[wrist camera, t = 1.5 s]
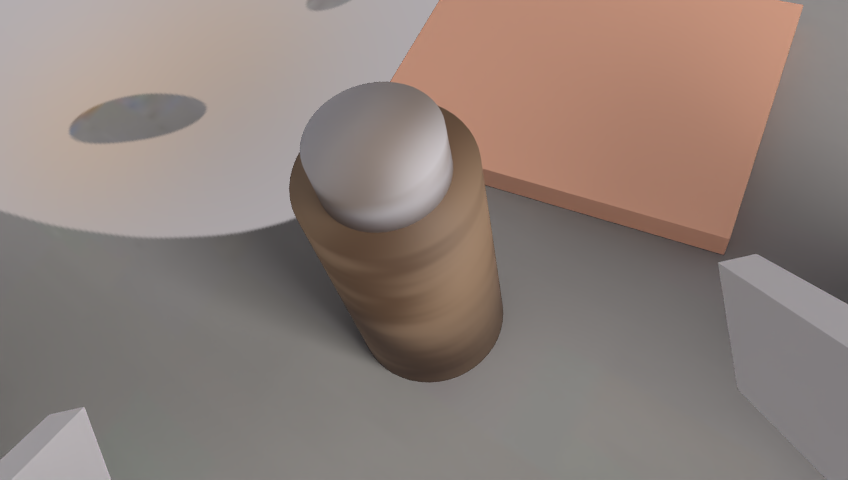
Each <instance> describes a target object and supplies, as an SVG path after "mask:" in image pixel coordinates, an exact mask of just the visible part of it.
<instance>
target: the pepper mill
mask: <svg viewBox="0 0 848 480" xmlns="http://www.w3.org/2000/svg"><path fill="white" fill-rule="evenodd" d="M289 191H290V201H291V205H292V209H293V211H294V214H295V216H296V218H297V220H298V222H299V224H300V226H301V227H302V229H303V231H304V233H305V235H306V236H307V238H308V240H309V242H310V243H311V245H312V247H313V249H314V251H315V252H316V254H317V256H318V258H319V260H320V261H321V263H322V265H323V267H324V269H325V270H326V272H327V274H328V276H329V278H330V279H331V281H332V283H333V285H334V286H335V288H336V290H337V292H338V294H339V295H340V297H341V299H342V301H343V303H344V304H345V306H346V308H347V310H348V312H349V313H350V315H351V317H352V319H353V321H354V322H355V324H356V326H357V328H358V329H359V331H360V333H361V335H362V337H363V338H364V340H365V342H366V344H367V346H368V347H369V349H370V351H371V352H372V354H373V356H374V357H375V358H376V359H377V360H378V362H379V363H380V364H381V365H383V366H384V367H385V368H386V369H388V370H389V371H391V372H392V373H394V374H396V375H398V376H400V377H402V378H405V379H408V380H412V381H418V382H439V381H444V380H449V379H452V378H455V377H458V376H460V375H462V374H464V373H466V372H468V371H469V370H471V369H472V368H474V367H475V366H476V365H478V364H479V363H480V362H481V361H482V360H483V359H484V358H485V357H486V356H487V355H488V354H489V352H490V351H491V349H492V348H493V347H494V345H495V343H496V341H497V339H498V336H499V334H500V331H501V327H502V322H503V305H502V298H501V291H500V284H499V278H498V271H497V264H496V257H495V250H494V244H493V237H492V230H491V223H490V216H489V210H488V203H487V196H486V189H485V182H484V175H483V169H482V162H481V156H480V152H479V148H478V145H477V143H476V140H475V138H474V136H473V135H472V133H471V132H470V130H469V129H468V128H467V126H466V125H465V124H464V123H463V122H462V121H461V120H460V119H459V118H458V117H456V116H455V115H454V114H452V113H451V112H449V111H448V110H446V109H444V108H442V107H440V106H438V105H437V104H436V103H435V102H434V101H433V100H432V99H431V98H430V97H429V96H428V95H427V94H425V93H424V92H422V91H420V90H418V89H416V88H414V87H412V86H409V85H405V84H401V83H396V82H374V83H367V84H362V85H359V86H356V87H353V88H350V89H347V90H345V91H343V92H341V93H339V94H338V95H336V96H334V97H333V98H331V99H330V100H328V101H327V102H326V103H325V104H323V105H322V106H321V107H320V108H319V109H318V110H317V111H316V112H315V113H314V115H313V116H312V117H311V119H310V120H309V122H308V124H307V126H306V127H305V130H304V132H303V135H302V139H301V143H300V153H299V155H298V156H297V158H296V161H295V163H294V166H293V169H292V173H291V177H290V186H289Z"/></svg>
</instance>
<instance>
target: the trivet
mask: <svg viewBox="0 0 848 480" xmlns="http://www.w3.org/2000/svg"><path fill="white" fill-rule="evenodd" d="M802 8H803V5H800V4H795V3H789V2H783V1H778V0H439V2H438V4H437V5H436V7H435V9H434V10H433V12H432V13H431V15H430V17H429V18H428V20H427V22H426V23H425V25H424V27H423V28H422V30H421V32H420V33H419V35H418V37H417V38H416V40H415V41H414V43H413V45H412V46H411V48H410V50H409V51H408V53H407V55H406V56H405V58H404V60H403V61H402V63H401V65H400V66H399V68H398V69H397V71H396V73H395V75H394V76H393V78H392V80H391V81H390V82H396V83H401V84H405V85H409V86H412V87H414V88H416V89H418V90H420V91H422V92H424V93H425V94H427V95H428V96H429V97H430V98H431V99H432V100H433V101H434V102H435V103H436V104H437V105H438V106H440V107H442V108H444V109H446V110H448V111H449V112H451V113H452V114H454V115H455V116H456V117H458V118H459V119H460V120H461V121H462V122H463V123H464V124H465V125H466V126H467V128H468V129H469V130H470V132H471V133H472V135H473V136H474V138H475V140H476V143H477V145H478V148H479V152H480V156H481V162H482V169H483V175H484V182H485V185H487V186H490V187H494V188H497V189H501V190H504V191H507V192H511V193H514V194H518V195H521V196H525V197H528V198H531V199H535V200H538V201H542V202H545V203H548V204H552V205H555V206H559V207H562V208H565V209H569V210H572V211H576V212H579V213H582V214H586V215H589V216H593V217H596V218H599V219H603V220H606V221H610V222H613V223H617V224H620V225H623V226H627V227H630V228H634V229H637V230H640V231H644V232H647V233H651V234H654V235H657V236H661V237H664V238H668V239H671V240H674V241H678V242H681V243H685V244H688V245H692V246H695V247H698V248H702V249H705V250H709V251H712V252H715V253H719V254H722V255H724V253H725V251H726V248H727V245H728V243H729V240H730V237H731V234H732V231H733V228H734V224H735V221H736V218H737V215H738V212H739V208H740V205H741V202H742V199H743V196H744V193H745V189H746V186H747V183H748V180H749V177H750V174H751V170H752V167H753V164H754V161H755V158H756V154H757V151H758V148H759V145H760V142H761V139H762V135H763V132H764V129H765V126H766V123H767V119H768V116H769V113H770V110H771V107H772V104H773V100H774V97H775V94H776V91H777V88H778V85H779V81H780V78H781V75H782V72H783V69H784V65H785V62H786V59H787V56H788V53H789V50H790V46H791V43H792V40H793V37H794V34H795V30H796V27H797V24H798V21H799V18H800V15H801V11H802Z"/></svg>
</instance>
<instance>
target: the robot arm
mask: <svg viewBox="0 0 848 480" xmlns="http://www.w3.org/2000/svg"><path fill="white" fill-rule="evenodd" d="M718 267H719V273H720V279H721V286H722V292H723V299H724V305H725V312H726V318H727V324H728V331H729V337H730V344H731V350H732V356H733V363H734V369H735V376H736V382H737V389H738V390H739V391H740V392H741V393H742V394H743V395H744V396H745V397H746V398H747V399H748V400H749V401H750V402H751V403H752V404H753V405H754V406H755V407H756V408H757V409H758V410H759V411H760V412H761V413H762V414H763V415H764V416H765V417H766V418H767V420H768V421H769V422H770V423H771V424H772V425H773V426H774V427H775V428H776V429H777V430H778V431H779V432H780V433H781V434H782V435H783V436H784V437H785V438H786V439H787V440H788V441H789V442H790V443H791V444H792V445H793V446H794V447H795V448H796V449H797V450H798V451H799V452H800V453H801V454H802V455H803V456H804V457H805V458H806V459H807V460H808V461H809V462H810V463H811V464H812V465H813V466H814V467H815V468H816V469H817V470H818V471H819V472H820V473H821V474H822V475H823V476H824V477H825V478H826V479H827V480H848V304H846V303H845V302H843V301H841V300H839V299H837V298H836V297H834V296H832V295H830V294H828V293H827V292H825V291H823V290H821V289H819V288H818V287H816V286H814V285H812V284H810V283H809V282H807V281H805V280H803V279H801V278H799V277H798V276H796V275H794V274H792V273H790V272H789V271H787V270H785V269H783V268H781V267H780V266H778V265H776V264H774V263H772V262H771V261H769V260H767V259H765V258H763V257H761V256H760V255H758V254H753V255H749V256H744V257H740V258H736V259H731V260H727V261H722V262H718ZM0 480H111V478H110V475H109V473H108V470H107V467H106V465H105V462H104V459H103V456H102V454H101V451H100V448H99V445H98V443H97V440H96V437H95V435H94V432H93V429H92V426H91V424H90V421H89V418H88V416H87V413H86V410H85V407H80V408H76V409H72V410H67V411H63V412H58V413H54V414H50V415H48V416H47V417H46V418H45V419H44V420H43V421H42V422H40V423H39V424H38V425H37V426H36V427H35V428H34V429H33V430H32V431H31V432H30V433H29V434H28V435H26V436H25V437H24V438H23V439H22V440H21V441H20V442H19V443H18V444H17V445H16V446H15V447H14V448H13V449H11V450H10V451H9V452H8V453H7V454H6V455H5V456H4V457H3V458H2V459H1V460H0Z"/></svg>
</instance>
